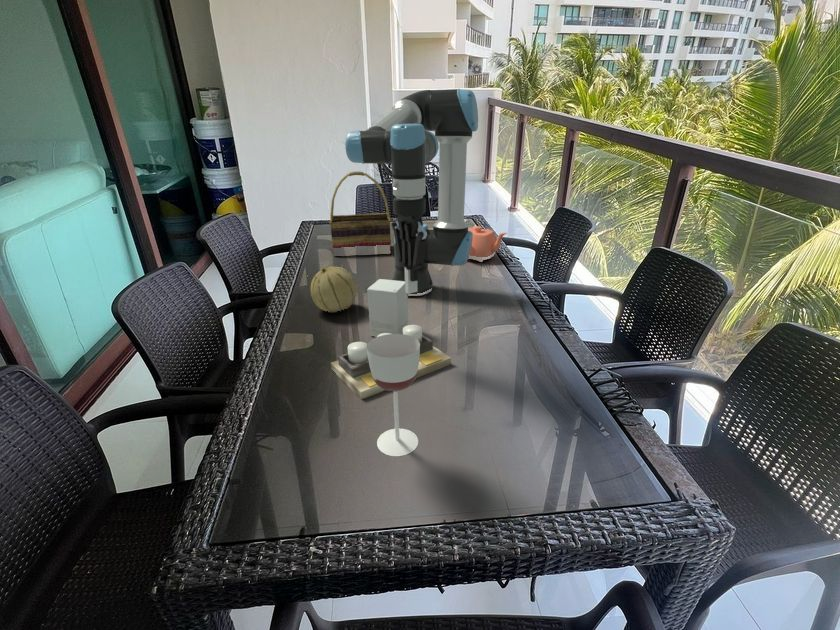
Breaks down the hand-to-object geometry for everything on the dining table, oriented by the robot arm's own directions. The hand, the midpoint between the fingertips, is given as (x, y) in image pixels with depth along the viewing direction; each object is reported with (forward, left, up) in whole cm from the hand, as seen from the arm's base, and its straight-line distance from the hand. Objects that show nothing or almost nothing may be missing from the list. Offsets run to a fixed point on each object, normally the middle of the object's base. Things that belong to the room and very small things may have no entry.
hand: (411, 291), depth 116 cm
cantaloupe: (-39, -4, -18) cm, 43 cm away
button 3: (0, 0, -14) cm, 14 cm away
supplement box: (-15, +2, -19) cm, 24 cm away
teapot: (-51, +68, -19) cm, 87 cm away
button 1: (0, -16, -14) cm, 21 cm away
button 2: (0, -8, -14) cm, 16 cm away
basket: (-91, +34, -19) cm, 99 cm away
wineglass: (+27, -22, -18) cm, 39 cm away
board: (+2, -8, -18) cm, 20 cm away
